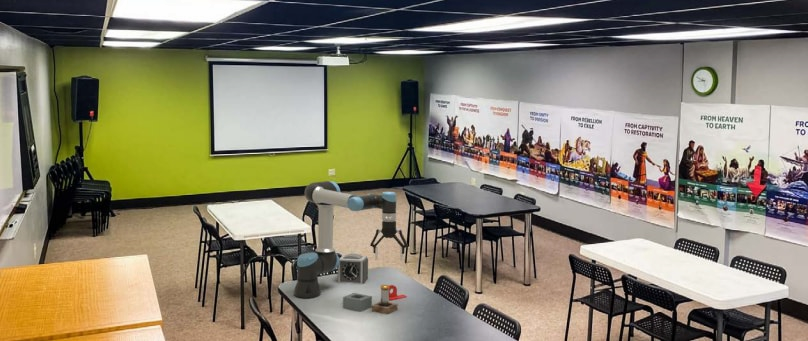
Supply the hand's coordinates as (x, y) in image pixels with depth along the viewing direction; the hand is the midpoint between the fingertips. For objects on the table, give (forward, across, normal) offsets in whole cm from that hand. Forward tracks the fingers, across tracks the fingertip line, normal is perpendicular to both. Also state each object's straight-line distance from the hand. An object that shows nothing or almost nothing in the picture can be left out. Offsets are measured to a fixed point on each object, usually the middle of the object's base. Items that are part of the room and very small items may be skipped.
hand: (388, 259), depth 342 cm
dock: (+26, -17, -3) cm, 31 cm away
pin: (+26, -1, -6) cm, 27 cm away
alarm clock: (+26, -29, +45) cm, 60 cm away
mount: (+26, -1, -6) cm, 27 cm away
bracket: (+26, +2, +17) cm, 32 cm away
